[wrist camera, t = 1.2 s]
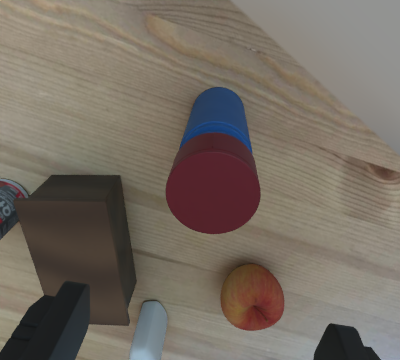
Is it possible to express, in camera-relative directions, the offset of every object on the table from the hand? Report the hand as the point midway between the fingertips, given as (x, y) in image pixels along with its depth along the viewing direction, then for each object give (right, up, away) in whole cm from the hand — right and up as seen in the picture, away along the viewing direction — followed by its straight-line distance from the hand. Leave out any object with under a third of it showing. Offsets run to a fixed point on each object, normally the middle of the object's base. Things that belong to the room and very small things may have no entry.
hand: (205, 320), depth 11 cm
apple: (+6, -7, +31) cm, 33 cm away
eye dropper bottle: (-7, -14, +36) cm, 39 cm away
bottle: (+2, +11, +22) cm, 25 cm away
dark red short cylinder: (+1, +5, +10) cm, 11 cm away
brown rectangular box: (-13, -2, +30) cm, 33 cm away
